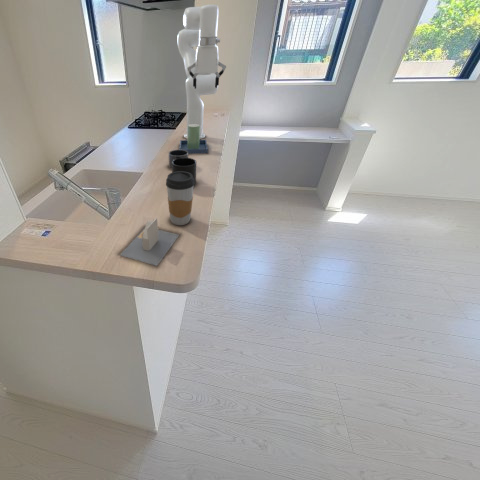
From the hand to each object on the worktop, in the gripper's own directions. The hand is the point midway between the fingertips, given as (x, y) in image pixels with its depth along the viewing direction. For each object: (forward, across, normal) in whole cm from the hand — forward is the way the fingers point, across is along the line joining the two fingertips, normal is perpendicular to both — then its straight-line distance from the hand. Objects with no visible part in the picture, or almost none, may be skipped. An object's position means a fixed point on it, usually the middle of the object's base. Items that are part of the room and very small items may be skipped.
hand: (205, 87), depth 125 cm
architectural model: (+28, +18, +85) cm, 91 cm away
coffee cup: (+28, +10, +72) cm, 78 cm away
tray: (+28, +5, +1) cm, 29 cm away
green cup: (+28, +5, +1) cm, 28 cm away
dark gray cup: (+28, +12, +26) cm, 40 cm away
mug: (+28, +9, +43) cm, 52 cm away
